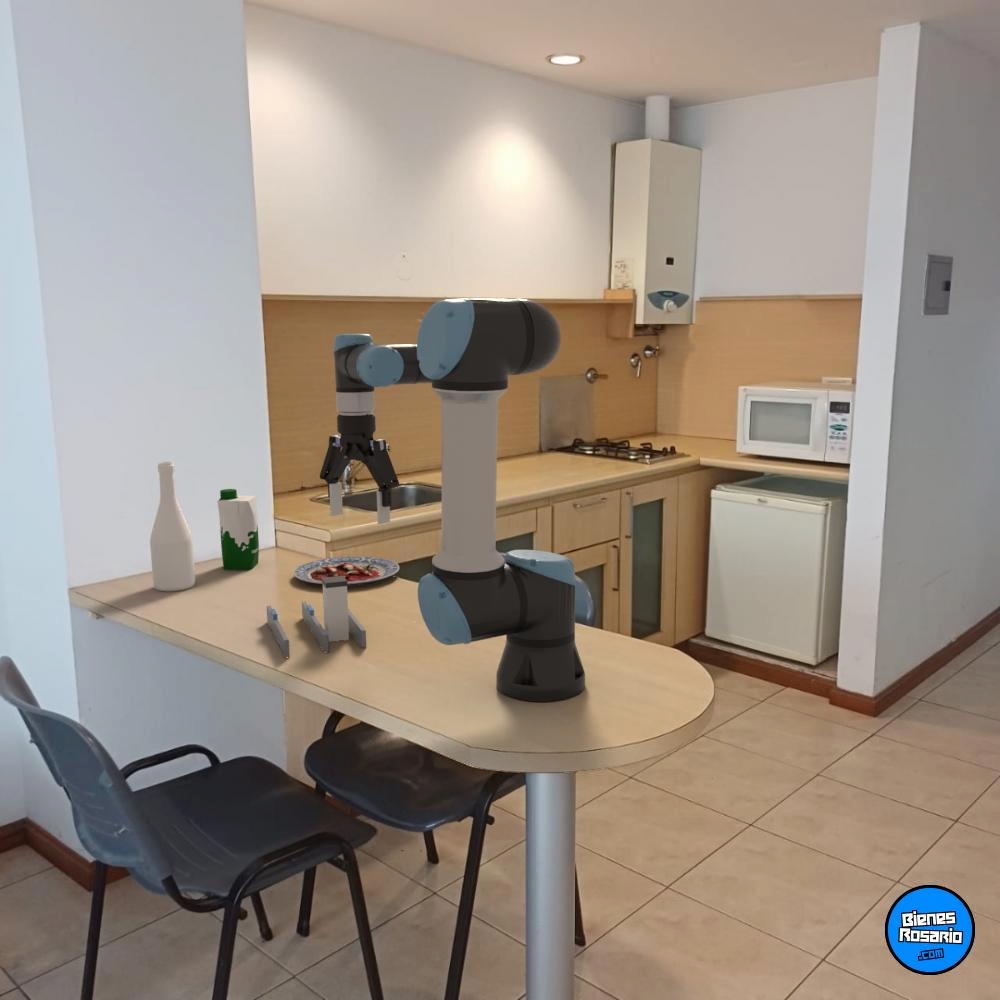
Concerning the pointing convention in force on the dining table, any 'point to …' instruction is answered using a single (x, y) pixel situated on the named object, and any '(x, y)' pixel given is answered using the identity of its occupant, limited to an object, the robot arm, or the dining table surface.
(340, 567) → the ceramic plate
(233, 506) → the milk carton
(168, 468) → the wine bottle
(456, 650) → the dining table surface
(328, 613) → the block
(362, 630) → the grey upright slats
